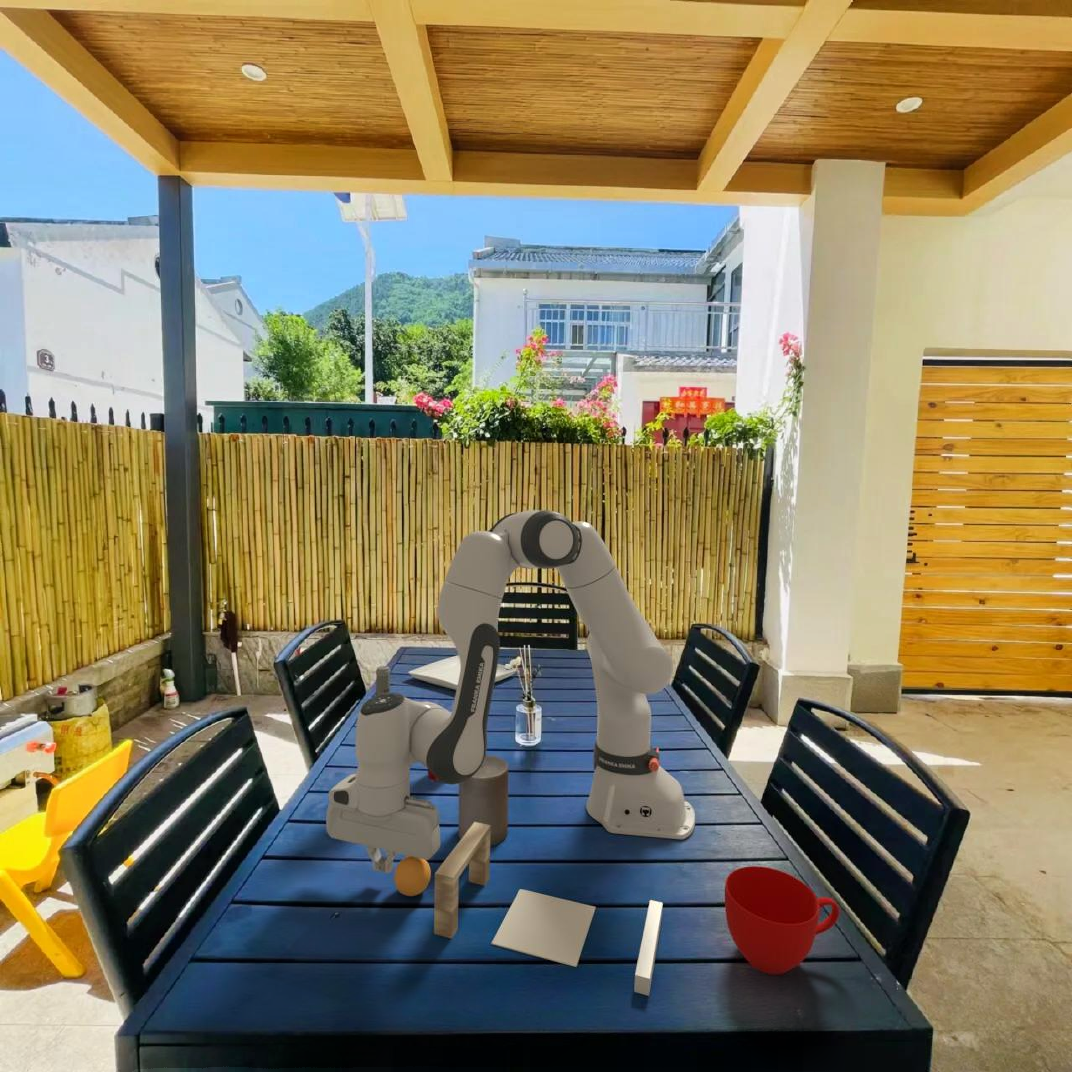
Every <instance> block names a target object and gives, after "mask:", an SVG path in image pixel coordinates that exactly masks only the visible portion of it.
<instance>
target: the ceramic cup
mask: <svg viewBox="0 0 1072 1072" xmlns="http://www.w3.org/2000/svg"><path fill="white" fill-rule="evenodd" d="M826 906H832V907H831V908H832V909H831V911H830V913H829V915H828V916H827V917H826V918H825V919H824V920H822V921H821V922H820V923H819V920H820V912H821V910H820V909H821V908H823V907H826ZM724 908H725V917H726V918H725V919H726V923H727V927H728V928H727V929H728V931H729V933H730V935H731V937H732V941H733V942H734V944H735V946H736V947H737V949H738V950H739V952H740V953H741V955H742V956H744V959H745V961H747V962H748V964H750V966H752V967H753V968H755V969H756V970H758V971H760V972H762V973H766V974H769V975H776V976H777V975H783V974H786V973H787V972H788V971H790V970H793V969H795V968H796V967H797V966H799V965H801V964H802V962H803V961H804V960H805V959H806V957H807V956H808V955H809V954H810V951H811V949H812V947H813V944H814V941H815V938H816V936H817V935H820V934H822V933H824V932H827V931H828V930H829V929H830V928H832V927H833V926H834V925H835V924H836V922H837V920H838V919H839V917H840V916H839V915H840V907H839V905H838V904H837V902H836V901H835V900H834V899H832V898H831V897H826V896H823V897H819V898H818V897H817V896H816V894H815V892H814V891H812V889H811V888H810V887H809V886H808V885H807V884H805V883H804V882H803V881H802V880H800V879H798V878H797V877H795V876H793V875H791V874H788V873H787V872H784V871H781V870H779V869H775V868H772V867H767V866H759V865H758V866H757V865H756V866H754V865H752V866H743V867H740V868H737V869H735V870H733V871H731V873H729V875H728V876H727V878H726V880H725V884H724Z"/></svg>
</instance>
